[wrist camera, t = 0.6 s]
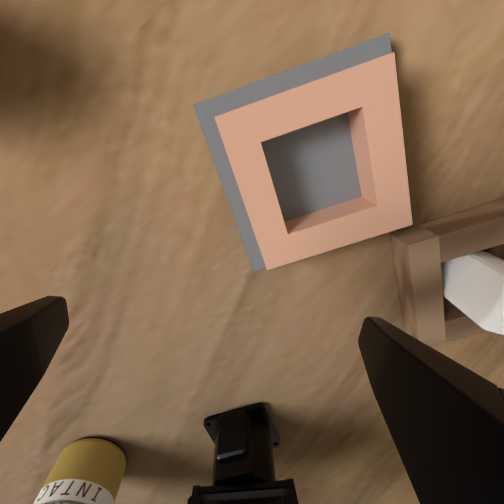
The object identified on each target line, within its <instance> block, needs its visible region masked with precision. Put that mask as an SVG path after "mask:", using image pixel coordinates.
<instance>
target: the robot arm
mask: <svg viewBox="0 0 504 504" xmlns="http://www.w3.org/2000/svg"><path fill="white" fill-rule="evenodd" d="M68 326H69V317H68V310H67V303H66V300H65V298H63V297H59V296H47V297H44V298H41V299H38V300H36V301H33V302H30V303H28V304H25V305H22V306H20V307H17V308H14V309H12V310H9V311H6V312H4V313H1V314H0V441H1V440H2V438H3V437H4V435H5V434H6V432H7V431H8V429H9V428H10V426H11V425H12V423H13V422H14V420H15V419H16V417H17V416H18V414H19V413H20V411H21V409H22V408H23V406H24V405H25V403H26V402H27V400H28V399H29V397H30V396H31V394H32V393H33V391H34V390H35V388H36V387H37V385H38V383H39V382H40V380H41V379H42V377H43V375H44V374H45V372H46V370H47V368H48V366H49V364H50V362H51V360H52V358H53V357H54V355H55V353H56V351H57V349H58V347H59V345H60V343H61V341H62V339H63V337H64V335H65V333H66V331H67V329H68ZM358 343H359V348H360V351H361V354H362V358H363V361H364V364H365V368H366V371H367V374H368V378H369V381H370V384H371V387H372V390H373V392H374V395H375V398H376V400H377V402H378V405H379V407H380V409H381V412H382V414H383V417H384V419H385V421H386V424H387V426H388V428H389V431H390V433H391V435H392V438H393V440H394V443H395V445H396V447H397V450H398V452H399V454H400V457H401V459H402V462H403V464H404V466H405V469H406V471H407V473H408V476H409V478H410V481H411V483H412V485H413V488H414V490H415V492H416V495H417V497H418V500H419V502H420V504H504V389H502V388H500V387H499V388H498V387H497V385H495V384H493V383H492V382H490V381H488V380H486V379H485V378H483V377H481V376H480V375H478V374H476V373H474V372H473V371H471V370H469V369H467V368H466V367H464V366H462V365H461V364H459V363H457V362H455V361H454V360H452V359H450V358H449V357H447V356H445V355H443V354H442V353H440V352H438V351H437V350H435V349H433V348H431V347H430V346H428V345H426V344H424V343H423V342H421V341H419V340H418V339H416V338H414V337H412V336H411V335H409V334H407V333H406V332H404V331H402V330H400V329H399V328H397V327H395V326H393V325H392V324H390V323H388V322H387V321H385V320H383V319H381V318H379V317H366V318H365V319H364V322H363V325H362V328H361V332H360V335H359V339H358ZM204 427H205V429H206V430H207V432H208V434H209V435H210V437H211V439H212V440H213V442H214V444H215V451H214V466H213V482H212V486H201V487H200V485H197V486H194V487H193V492H192V496H190V498H189V499H188V504H298V500H297V495H296V490H295V486H294V481H293V478H292V479H287V480H282V481H276V477H275V469H274V460H273V451H272V448H274V447H278V446H279V445H280V439H279V436H278V434H277V432H276V430H275V427H274V425H273V423H272V421H271V418H270V416H269V414H268V412H267V409H266V407H265V405H264V404H262V403H258V404H255V405H251V406H248V407H244V408H240V409H237V410H233V411H230V412H226V413H222V414H219V415H215V416H211V417H208V418H205V419H204Z"/></svg>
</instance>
